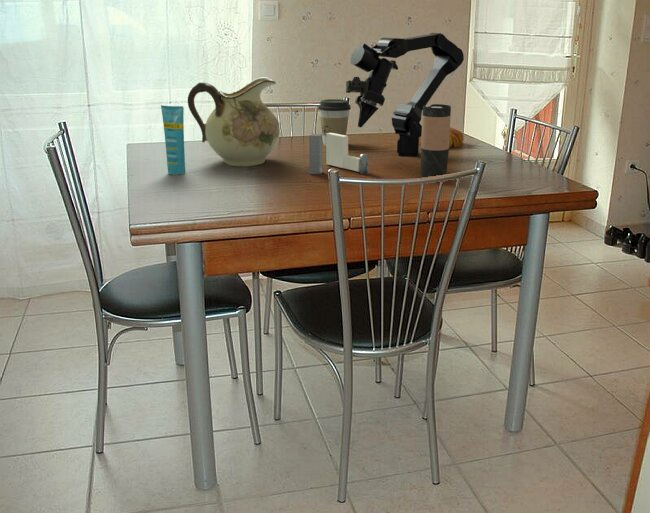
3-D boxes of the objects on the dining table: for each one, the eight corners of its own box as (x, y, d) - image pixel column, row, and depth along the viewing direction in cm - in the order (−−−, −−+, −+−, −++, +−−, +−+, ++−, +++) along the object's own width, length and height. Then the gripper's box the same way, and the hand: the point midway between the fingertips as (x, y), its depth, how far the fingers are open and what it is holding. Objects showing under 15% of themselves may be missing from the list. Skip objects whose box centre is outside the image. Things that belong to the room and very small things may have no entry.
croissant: (418, 154, 245) (418, 132, 241) (423, 140, 258) (423, 118, 254) (462, 155, 241) (463, 132, 238) (464, 140, 255) (465, 118, 251)
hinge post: (368, 172, 209) (368, 153, 207) (368, 174, 206) (368, 155, 204) (360, 172, 209) (360, 153, 207) (359, 174, 206) (359, 155, 205)
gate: (363, 170, 209) (363, 139, 206) (357, 171, 208) (358, 139, 205) (331, 163, 219) (331, 132, 216) (326, 163, 218) (326, 133, 215)
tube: (161, 174, 207) (155, 106, 201) (169, 170, 211) (164, 103, 205) (184, 176, 205) (180, 107, 198) (192, 172, 209) (188, 104, 203)
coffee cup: (311, 146, 247) (311, 101, 242) (328, 141, 256) (328, 97, 251) (339, 149, 241) (340, 103, 237) (356, 144, 251) (357, 100, 246)
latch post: (322, 172, 209) (322, 134, 206) (319, 174, 206) (319, 135, 203) (312, 171, 210) (312, 133, 206) (309, 173, 207) (309, 135, 204)
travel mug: (446, 182, 197) (450, 108, 190) (418, 181, 199) (421, 107, 192) (447, 176, 204) (451, 104, 198) (420, 175, 206) (423, 103, 199)
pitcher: (295, 161, 223) (293, 78, 214) (237, 174, 206) (232, 85, 198) (247, 152, 237) (243, 74, 229) (189, 164, 221) (182, 80, 213)
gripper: (349, 72, 227) (331, 119, 228) (357, 63, 208) (338, 115, 210) (381, 85, 228) (363, 132, 230) (393, 78, 210) (374, 129, 211)
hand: (359, 127), depth 220 cm, fingers closed
